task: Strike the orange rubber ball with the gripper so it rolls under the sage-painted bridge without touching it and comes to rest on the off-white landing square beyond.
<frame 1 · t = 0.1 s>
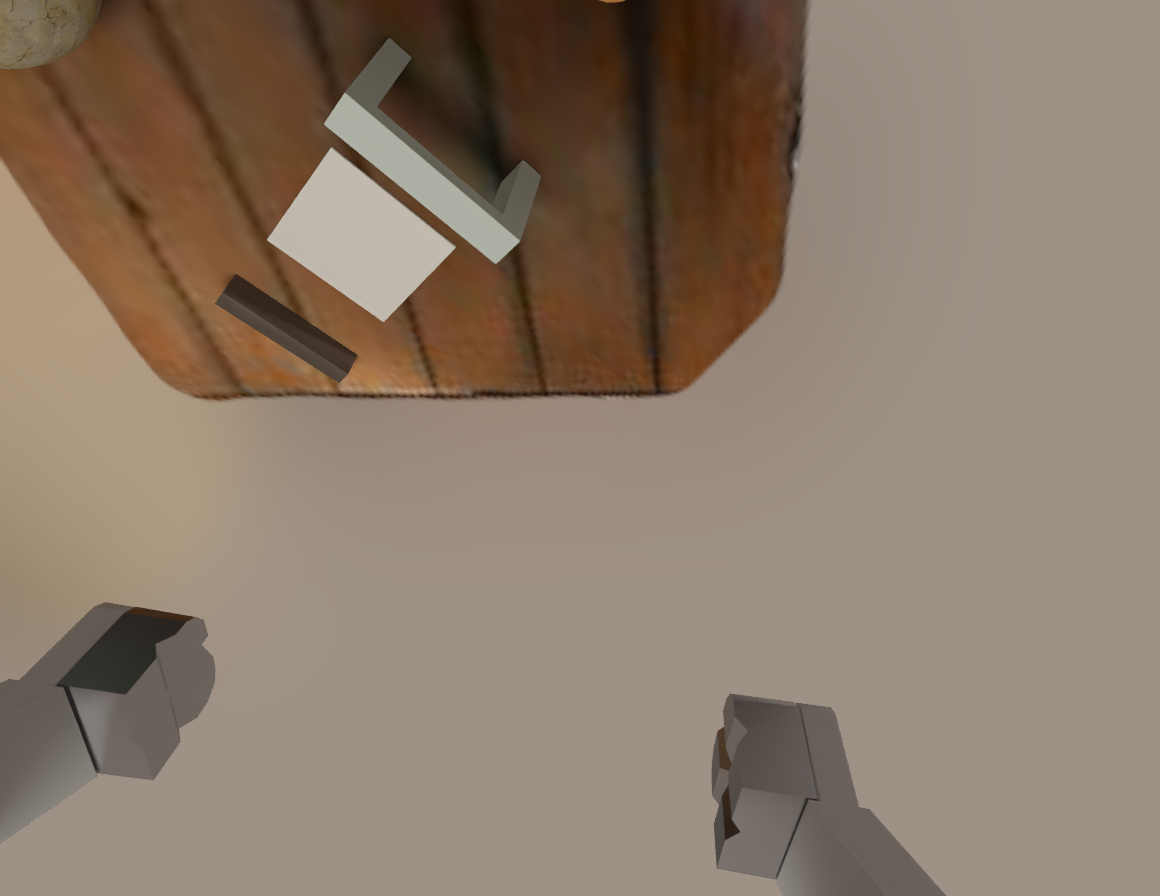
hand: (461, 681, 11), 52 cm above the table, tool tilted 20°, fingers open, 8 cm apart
bridge: (458, 124, 58), on the table
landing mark: (360, 242, 68), on the table
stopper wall: (295, 321, 77), on the table
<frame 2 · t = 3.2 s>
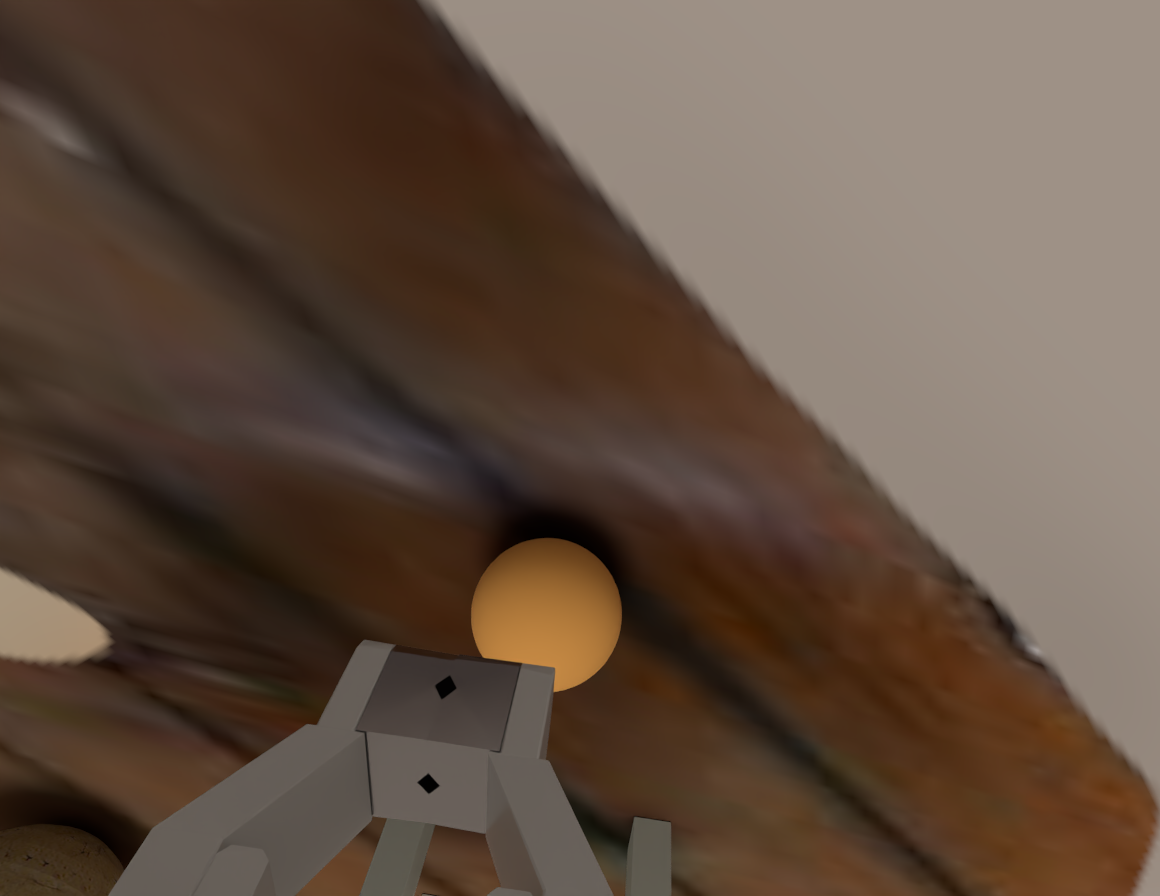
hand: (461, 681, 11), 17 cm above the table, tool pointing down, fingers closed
bridge: (533, 817, 41), on the table
ball: (546, 613, 29), on the table
fossilized egg: (84, 838, 47), on the table
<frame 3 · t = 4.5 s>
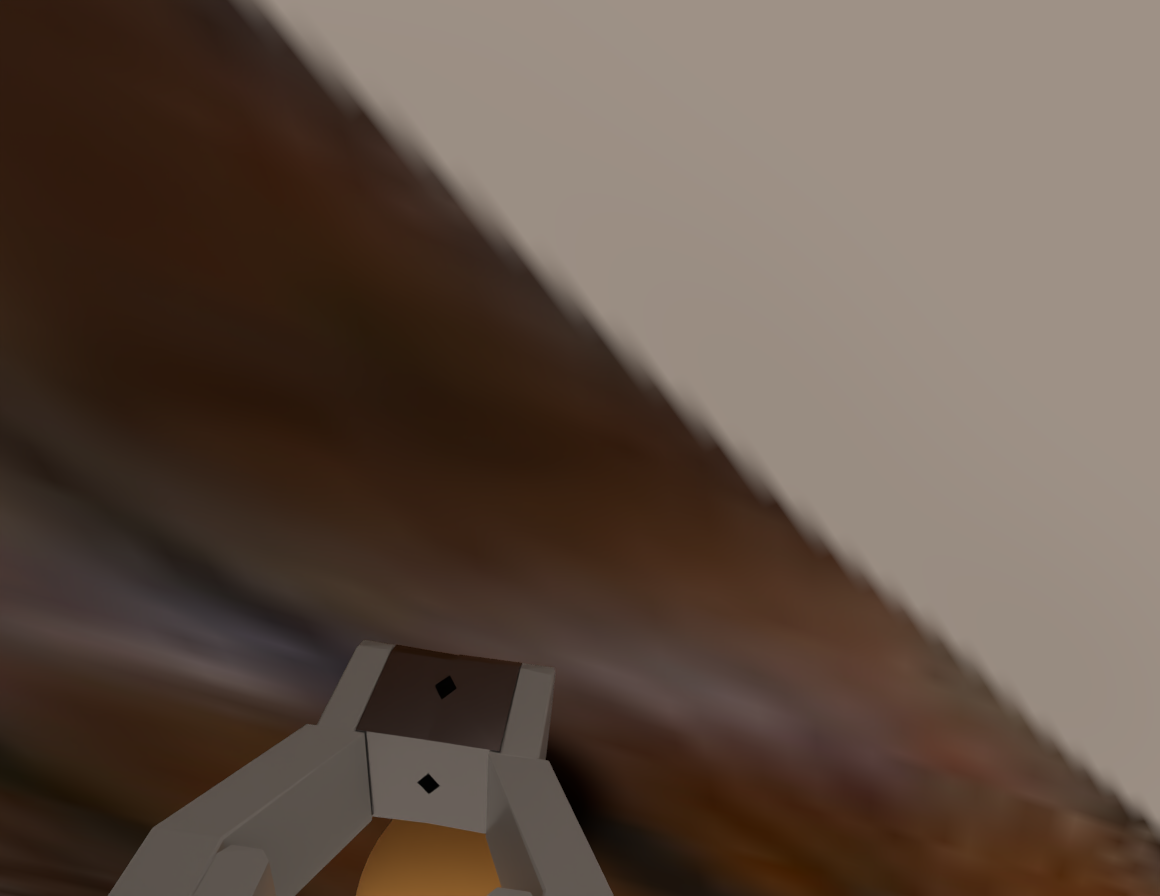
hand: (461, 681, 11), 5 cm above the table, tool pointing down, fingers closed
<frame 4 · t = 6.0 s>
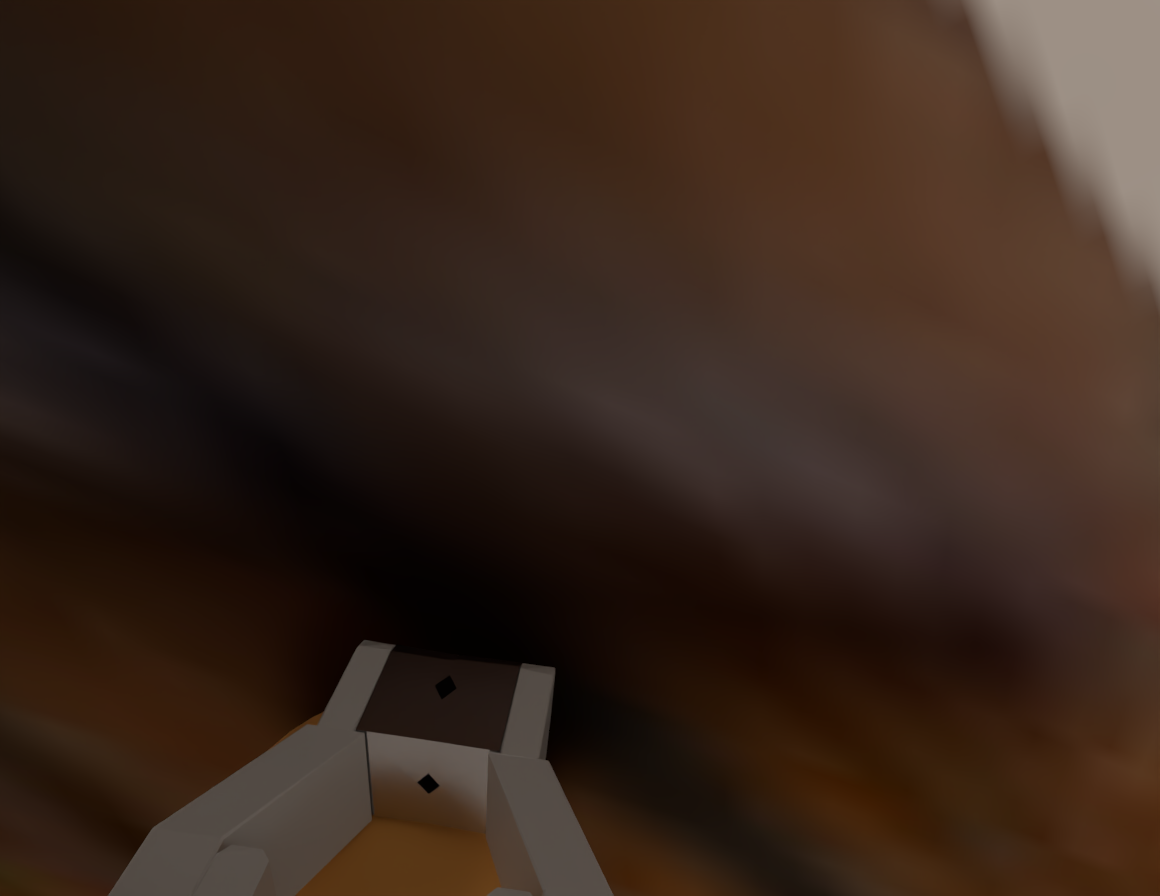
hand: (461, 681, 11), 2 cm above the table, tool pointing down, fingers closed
ball: (388, 879, 12), on the table
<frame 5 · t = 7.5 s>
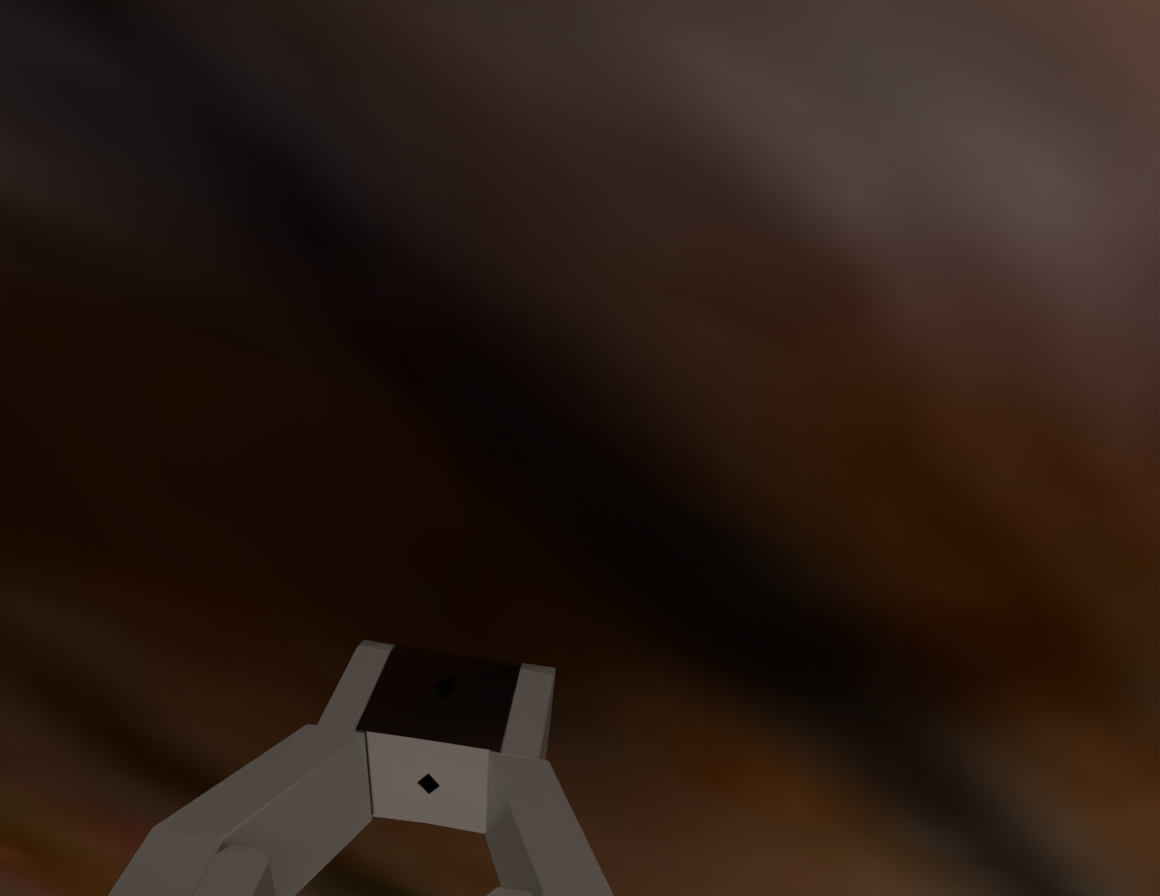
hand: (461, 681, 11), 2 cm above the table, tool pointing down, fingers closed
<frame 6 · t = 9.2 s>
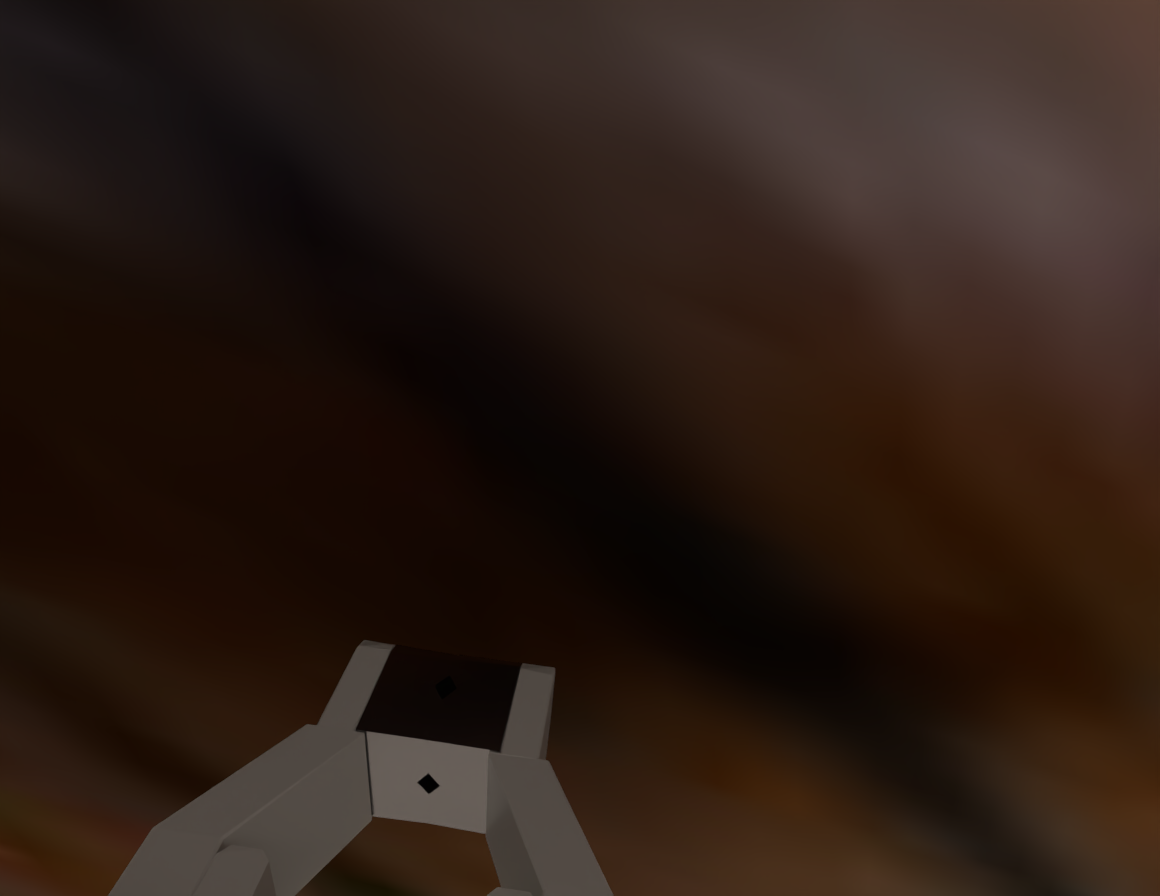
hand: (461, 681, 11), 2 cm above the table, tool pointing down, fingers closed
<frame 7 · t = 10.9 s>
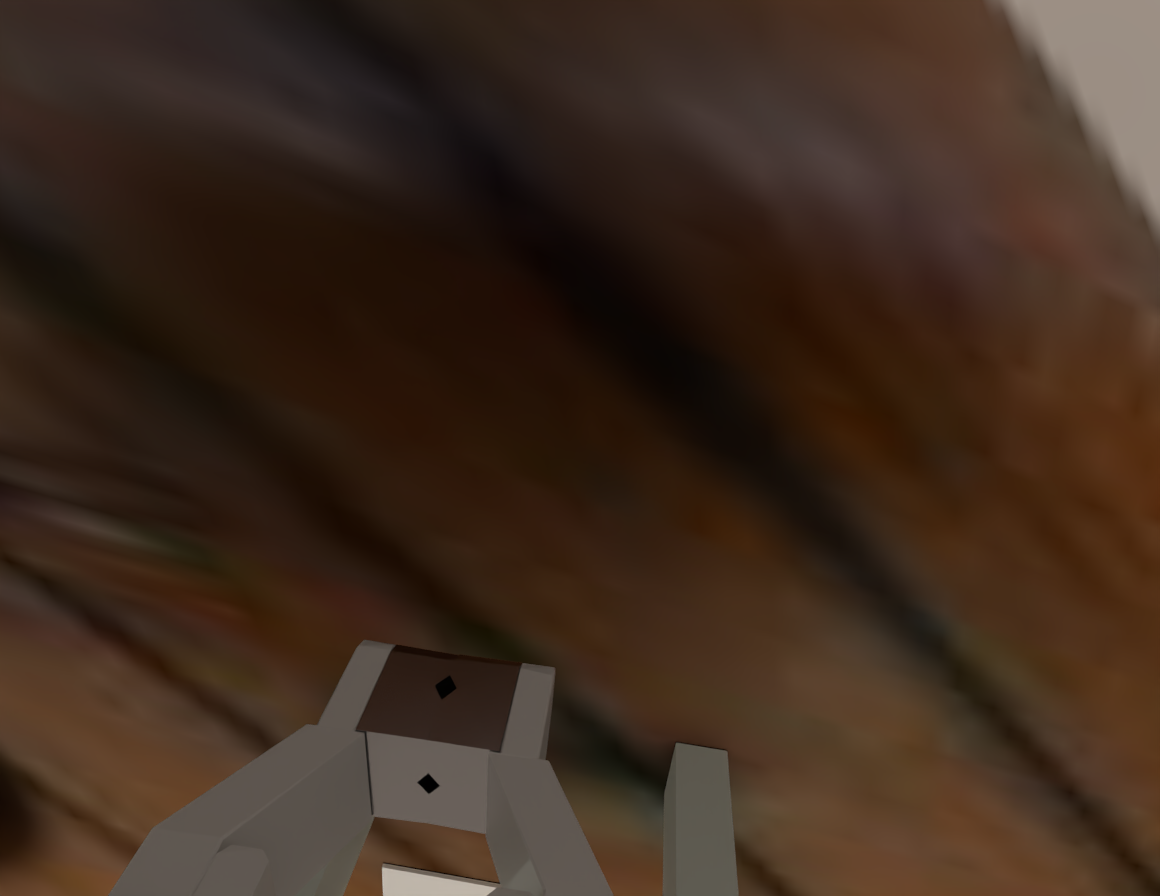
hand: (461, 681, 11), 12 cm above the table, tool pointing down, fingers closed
bridge: (534, 745, 29), on the table
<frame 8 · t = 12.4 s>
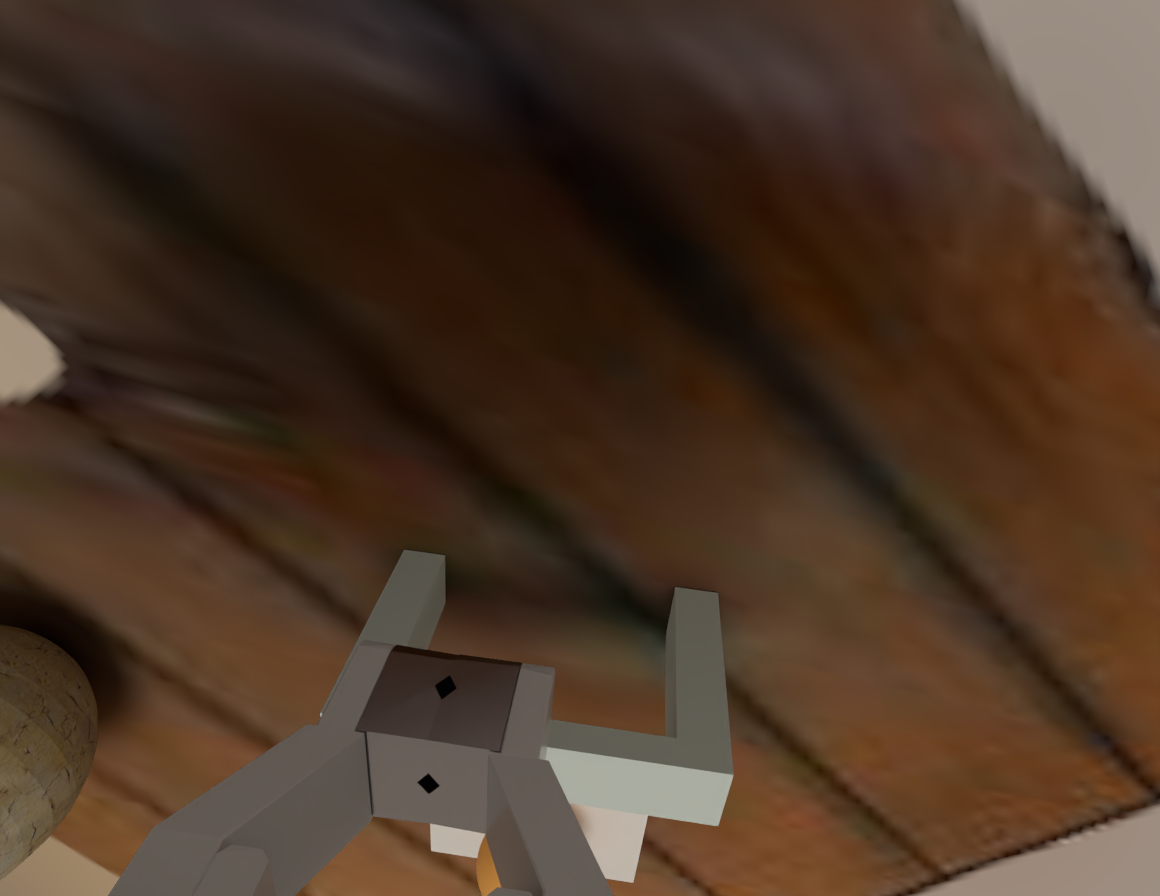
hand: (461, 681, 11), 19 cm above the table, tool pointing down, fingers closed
bridge: (557, 595, 35), on the table
ball: (529, 863, 41), on the table
fossilized egg: (45, 655, 42), on the table
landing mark: (537, 800, 43), on the table
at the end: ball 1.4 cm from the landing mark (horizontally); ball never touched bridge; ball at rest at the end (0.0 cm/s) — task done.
